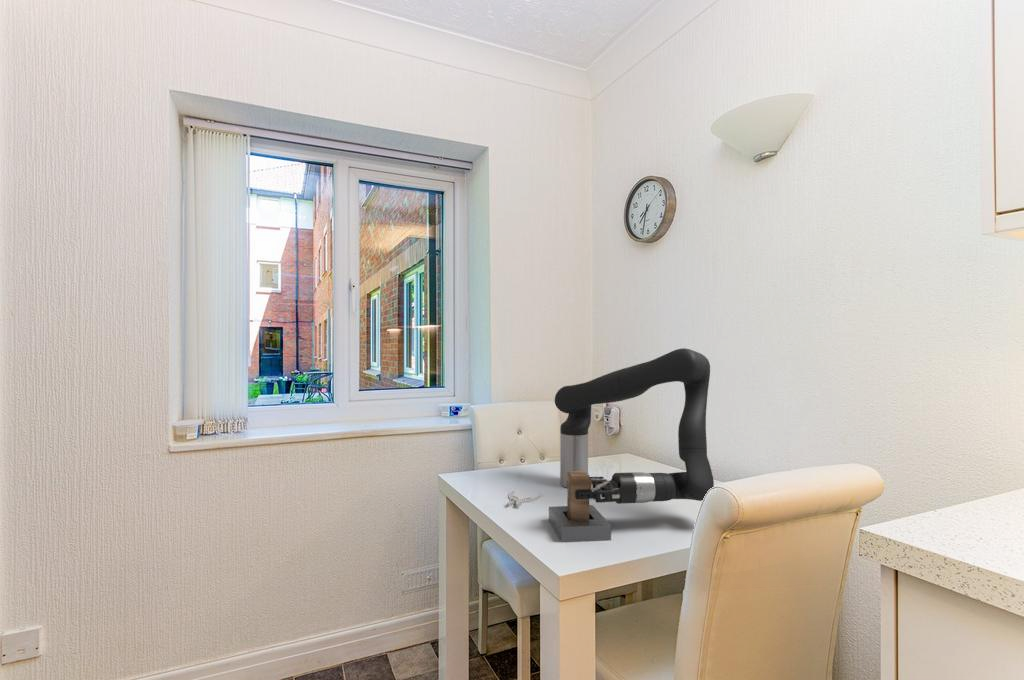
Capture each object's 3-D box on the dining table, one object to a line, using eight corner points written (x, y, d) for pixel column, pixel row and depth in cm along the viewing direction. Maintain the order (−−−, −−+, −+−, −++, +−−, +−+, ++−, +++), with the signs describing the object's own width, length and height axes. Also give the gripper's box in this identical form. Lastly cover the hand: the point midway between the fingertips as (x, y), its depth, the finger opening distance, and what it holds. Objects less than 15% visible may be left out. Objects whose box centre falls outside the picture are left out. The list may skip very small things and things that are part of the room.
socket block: (548, 520, 128) (548, 506, 128) (592, 518, 130) (592, 505, 130) (561, 542, 113) (561, 527, 114) (611, 540, 115) (611, 525, 115)
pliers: (542, 491, 151) (528, 505, 136) (542, 496, 151) (528, 511, 136) (512, 488, 154) (495, 501, 140) (512, 493, 154) (495, 507, 140)
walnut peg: (567, 526, 124) (567, 471, 124) (584, 525, 124) (584, 470, 125) (571, 533, 119) (571, 475, 120) (589, 532, 120) (589, 475, 120)
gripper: (623, 466, 131) (564, 467, 129) (643, 480, 117) (578, 482, 115) (623, 494, 131) (564, 496, 129) (644, 511, 116) (578, 514, 114)
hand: (570, 489), depth 122 cm, fingers open, 8 cm apart
